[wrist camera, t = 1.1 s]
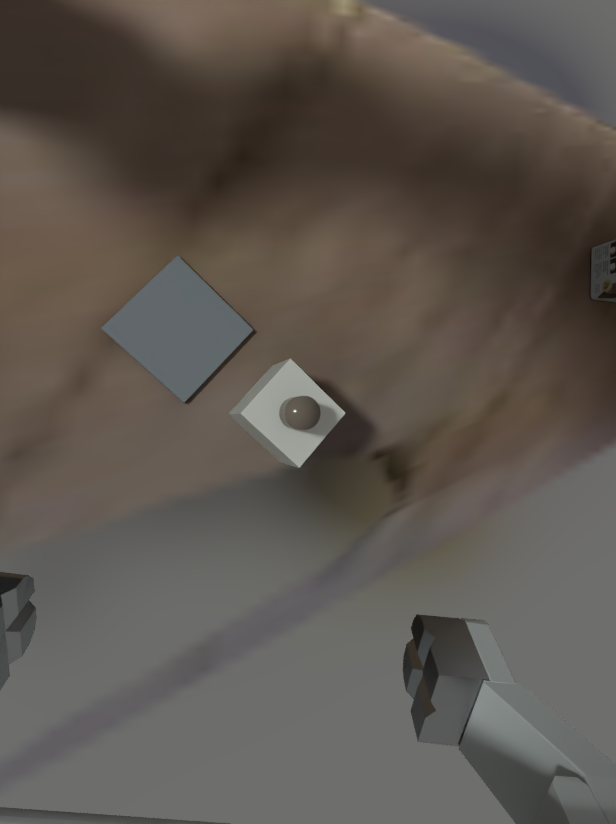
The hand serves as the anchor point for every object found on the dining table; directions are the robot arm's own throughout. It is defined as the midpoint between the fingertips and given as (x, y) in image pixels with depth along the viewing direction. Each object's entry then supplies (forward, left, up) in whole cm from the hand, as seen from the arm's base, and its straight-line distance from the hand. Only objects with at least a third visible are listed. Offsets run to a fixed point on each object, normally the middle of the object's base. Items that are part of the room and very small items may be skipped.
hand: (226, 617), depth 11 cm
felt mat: (-10, +7, -34) cm, 36 cm away
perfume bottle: (+1, +11, -34) cm, 35 cm away
